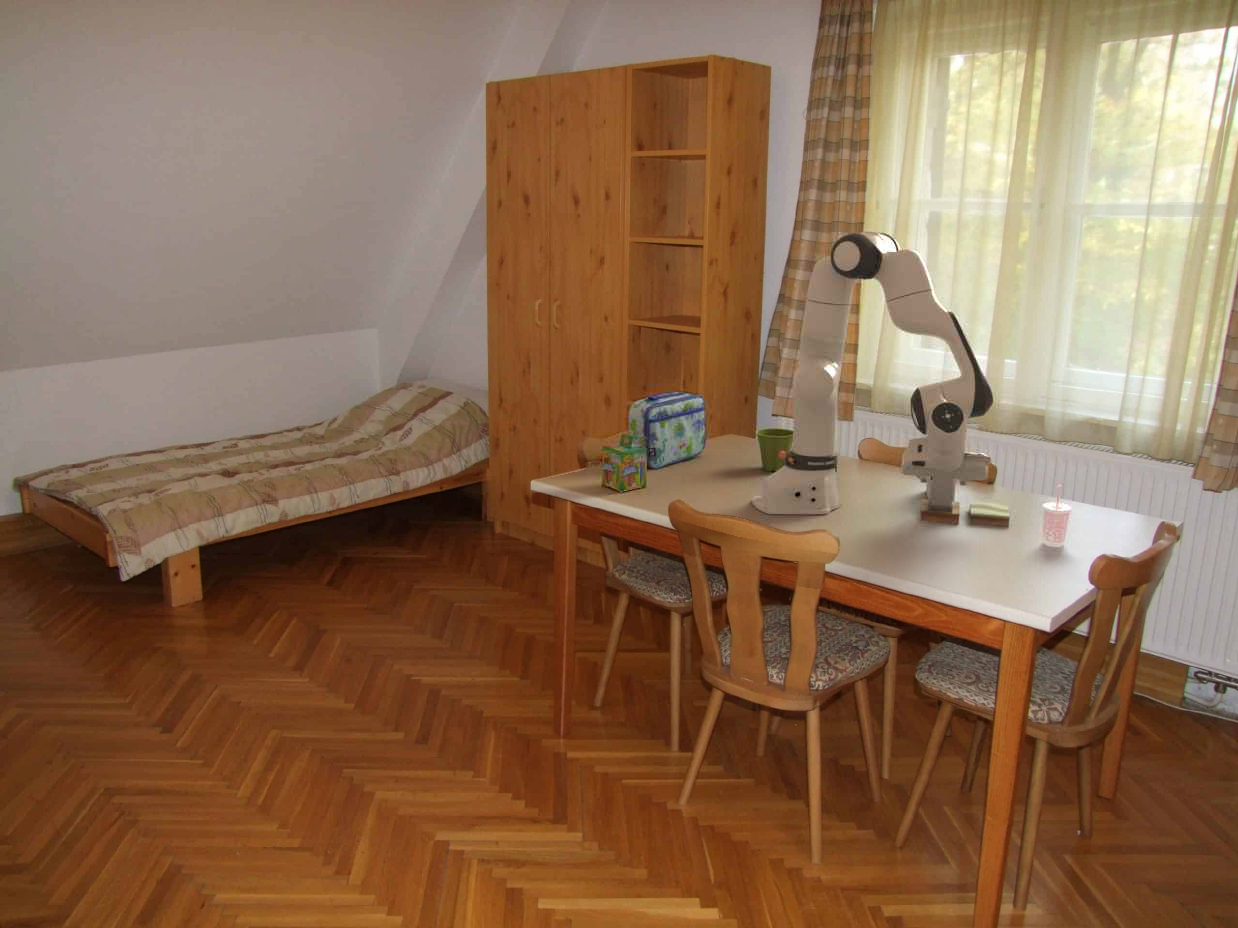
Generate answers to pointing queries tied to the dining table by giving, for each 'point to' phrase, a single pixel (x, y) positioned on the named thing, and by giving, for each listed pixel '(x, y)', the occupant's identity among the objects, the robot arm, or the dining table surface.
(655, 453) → the lunch box
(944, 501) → the housing
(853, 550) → the dining table surface
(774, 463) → the plant pot
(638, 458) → the chalk box
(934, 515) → the stand
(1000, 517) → the stand
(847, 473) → the dining table surface
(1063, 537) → the beverage cup
